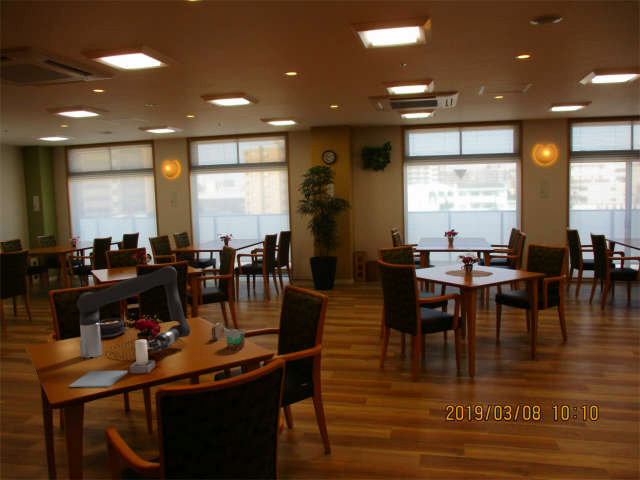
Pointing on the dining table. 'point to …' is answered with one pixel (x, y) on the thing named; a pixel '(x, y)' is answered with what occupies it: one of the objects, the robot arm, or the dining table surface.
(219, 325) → the tin
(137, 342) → the cream tall cylinder
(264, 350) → the dining table surface
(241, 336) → the food container
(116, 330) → the casserole
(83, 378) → the mat
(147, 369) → the cup holder
